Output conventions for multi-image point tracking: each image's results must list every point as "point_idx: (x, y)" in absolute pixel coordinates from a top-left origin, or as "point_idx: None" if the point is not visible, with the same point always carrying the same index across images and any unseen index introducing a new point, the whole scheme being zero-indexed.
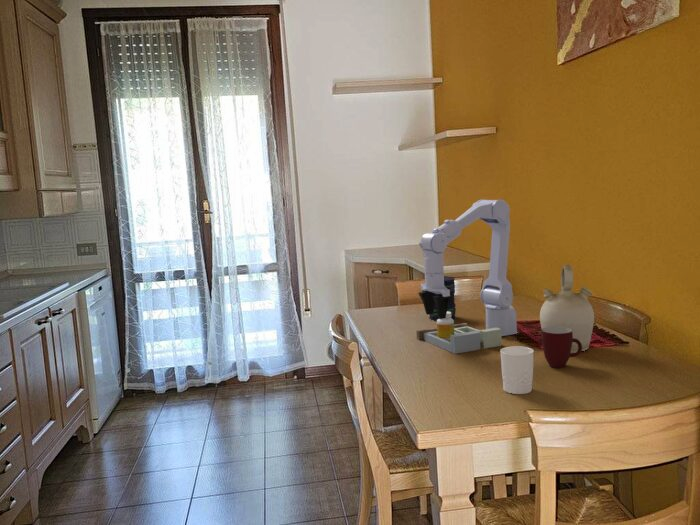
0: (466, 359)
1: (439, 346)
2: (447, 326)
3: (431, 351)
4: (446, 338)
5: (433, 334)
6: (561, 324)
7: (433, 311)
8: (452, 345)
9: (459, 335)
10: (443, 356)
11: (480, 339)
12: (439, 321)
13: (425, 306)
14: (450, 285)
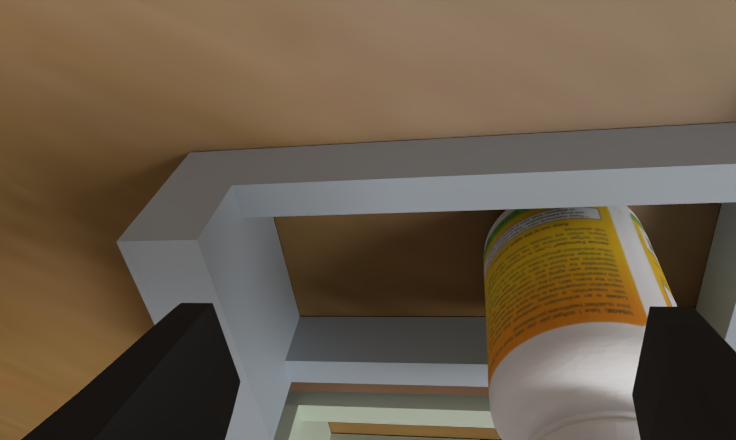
0: (21, 155)
1: (448, 141)
2: (493, 358)
3: (341, 3)
4: (490, 257)
5: None
6: None
7: (640, 436)
8: (196, 184)
9: (155, 297)
10: (136, 33)
11: (289, 405)
12: (580, 356)
13: (731, 437)
14: None
